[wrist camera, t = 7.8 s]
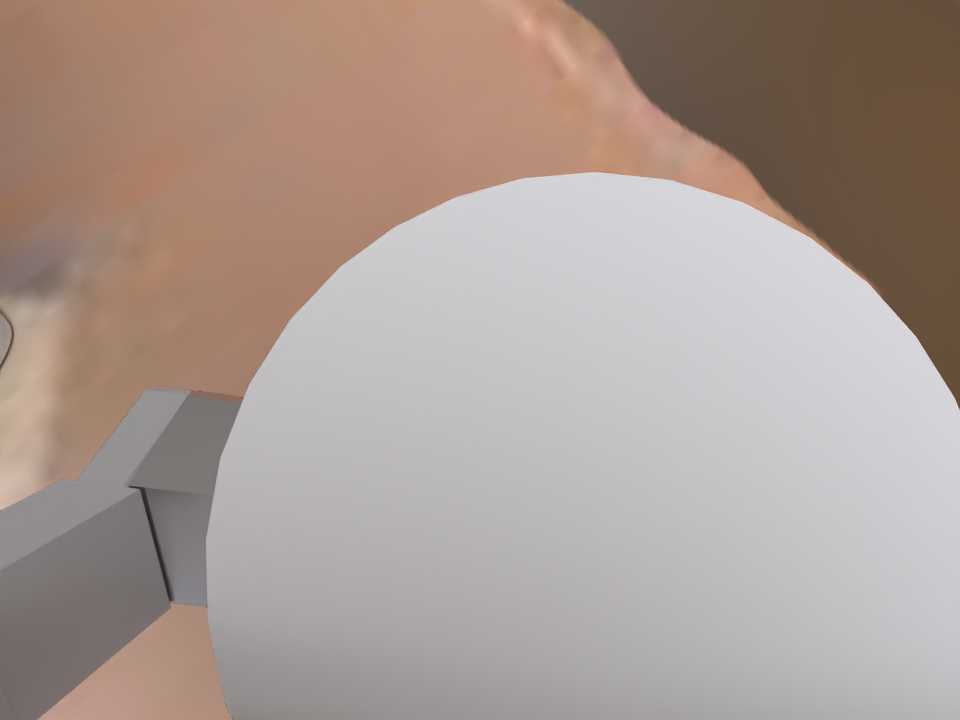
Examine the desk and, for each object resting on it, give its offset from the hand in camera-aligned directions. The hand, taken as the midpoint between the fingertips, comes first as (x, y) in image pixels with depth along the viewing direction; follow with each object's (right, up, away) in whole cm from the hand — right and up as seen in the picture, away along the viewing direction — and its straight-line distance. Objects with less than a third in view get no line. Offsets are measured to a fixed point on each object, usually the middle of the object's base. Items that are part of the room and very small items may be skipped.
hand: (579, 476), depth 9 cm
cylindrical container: (0, -5, +23) cm, 23 cm away
